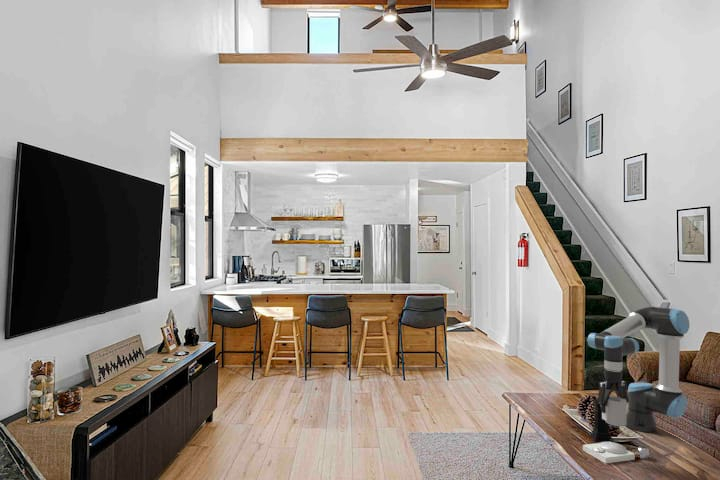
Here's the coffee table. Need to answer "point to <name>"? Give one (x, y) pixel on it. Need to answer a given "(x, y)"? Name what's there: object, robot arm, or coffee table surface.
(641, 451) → the spacer
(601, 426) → the chess piece
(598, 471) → the coffee table surface
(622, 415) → the mug
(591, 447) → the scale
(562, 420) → the coffee table surface
